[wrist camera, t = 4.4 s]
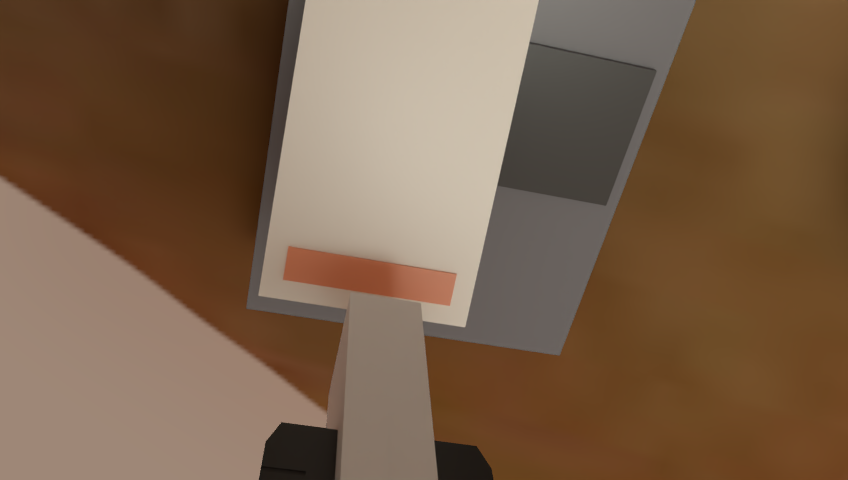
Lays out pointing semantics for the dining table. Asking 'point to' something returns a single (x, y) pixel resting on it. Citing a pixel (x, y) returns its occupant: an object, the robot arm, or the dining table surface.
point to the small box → (394, 150)
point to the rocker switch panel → (536, 165)
